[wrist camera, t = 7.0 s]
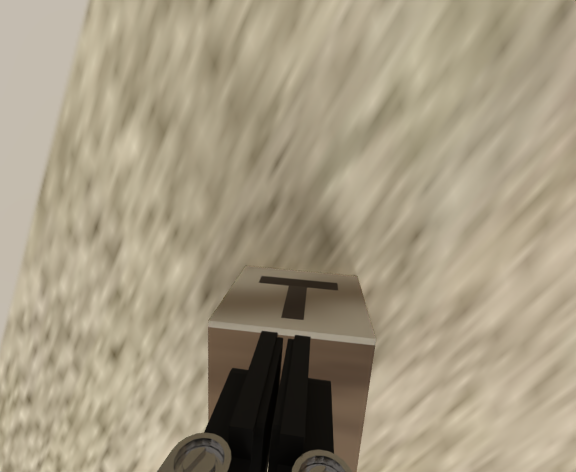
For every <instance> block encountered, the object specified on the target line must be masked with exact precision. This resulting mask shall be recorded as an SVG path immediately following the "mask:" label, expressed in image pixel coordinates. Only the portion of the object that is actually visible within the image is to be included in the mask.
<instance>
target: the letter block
mask: <svg viewBox="0 0 576 472" xmlns="http://www.w3.org/2000/svg"><path fill="white" fill-rule="evenodd" d="M261 331H268V332H277V333H278V337H281V338H283V350H282V362H281V374H280V380H281V375H282V369H283V364H284V358H285V353H286V347H287V342H288V338H289V339H294V337H295V335H301V336H309V337H311V340H310V357H309V373H308V378H313V379H320V380H328V381H331V391H332V415H333V439H334V454H336V455H338V456H339V457H340V458H341V459H343V460H344V461H345V462H346V463H347V465H348V466H349V467H350V469H351V470H352V472H356V471H357V465H358V458H359V451H360V444H361V437H362V431H363V424H364V417H365V410H366V404H367V397H368V390H369V383H370V377H371V370H372V363H373V356H374V349H375V343H376V337H375V334H374V330H373V327H372V324H371V320H370V317H369V314H368V310H367V307H366V304H365V300H364V297H363V293H362V290H361V287H360V283H359V280H358V277H357V276H350V275H340V274H329V273H319V272H308V271H297V270H287V269H276V268H266V267H255V266H245V268H244V269H243V271H242V272H241V273H240V275H239V276H238V278H237V279H236V281H235V282H234V284H233V285H232V287H231V288H230V290H229V291H228V293H227V294H226V296H225V297H224V298H223V300H222V301H221V303H220V304H219V306H218V307H217V309H216V310H215V312H214V313H213V315H212V316H211V318H210V319H209V321H208V409H209V420H210V418H211V415H212V413H213V411H214V408H215V406H216V403H217V401H218V399H219V396H220V394H221V392H222V389H223V387H224V385H225V382H226V380H227V377H228V375H229V373H230V371H231V369H232V368H238V369H245V370H248V369H249V366H250V363H251V360H252V357H253V355H254V352H255V349H256V346H257V343H258V340H259V337H260V334H261Z"/></svg>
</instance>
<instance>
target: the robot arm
mask: <svg viewBox="0 0 576 472" xmlns="http://www.w3.org/2000/svg"><path fill="white" fill-rule="evenodd" d="M310 340H311V337H309V336H301V335H295V337H294V339H289V338H288V342H287V347H286V353H285V358H284V364H283V369H282V375H281V380H280V374H281V362H282V350H283V338H281V337H278V333H277V332H268V331H261V334H260V337H259V340H258V343H257V346H256V349H255V352H254V355H253V357H252V360H251V363H250V366H249V369H248V370H245V369H238V368H232V369H231V371H230V373H229V375H228V377H227V380H226V382H225V385H224V387H223V389H222V392H221V394H220V396H219V399H218V401H217V403H216V406H215V408H214V411H213V413H212V415H211V418H210V420H209V422H208V425H207V427H206V429H205V432H204V433H197V434H194V435H191V436H189V437H186V438H185V439H183V440H182V441H180V442H179V443H178V444H177V445H176V446H175V447H174V448H173V450H172V451H171V452H170V454H169V455H168V457H167V458H166V459H165V461H164V462H163V464H162V465H161V467H160V468H159V470H158V471H157V472H267V468H268V472H352V470H351V469H350V467H349V466H348V465H347V463H346V462H345V461H344V460H343V459H341V458H340V457H339V456H338V455H336V454H334V439H333V415H332V391H331V381H328V380H320V379H313V378H308V373H309V357H310ZM268 462H269V465H268Z"/></svg>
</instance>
